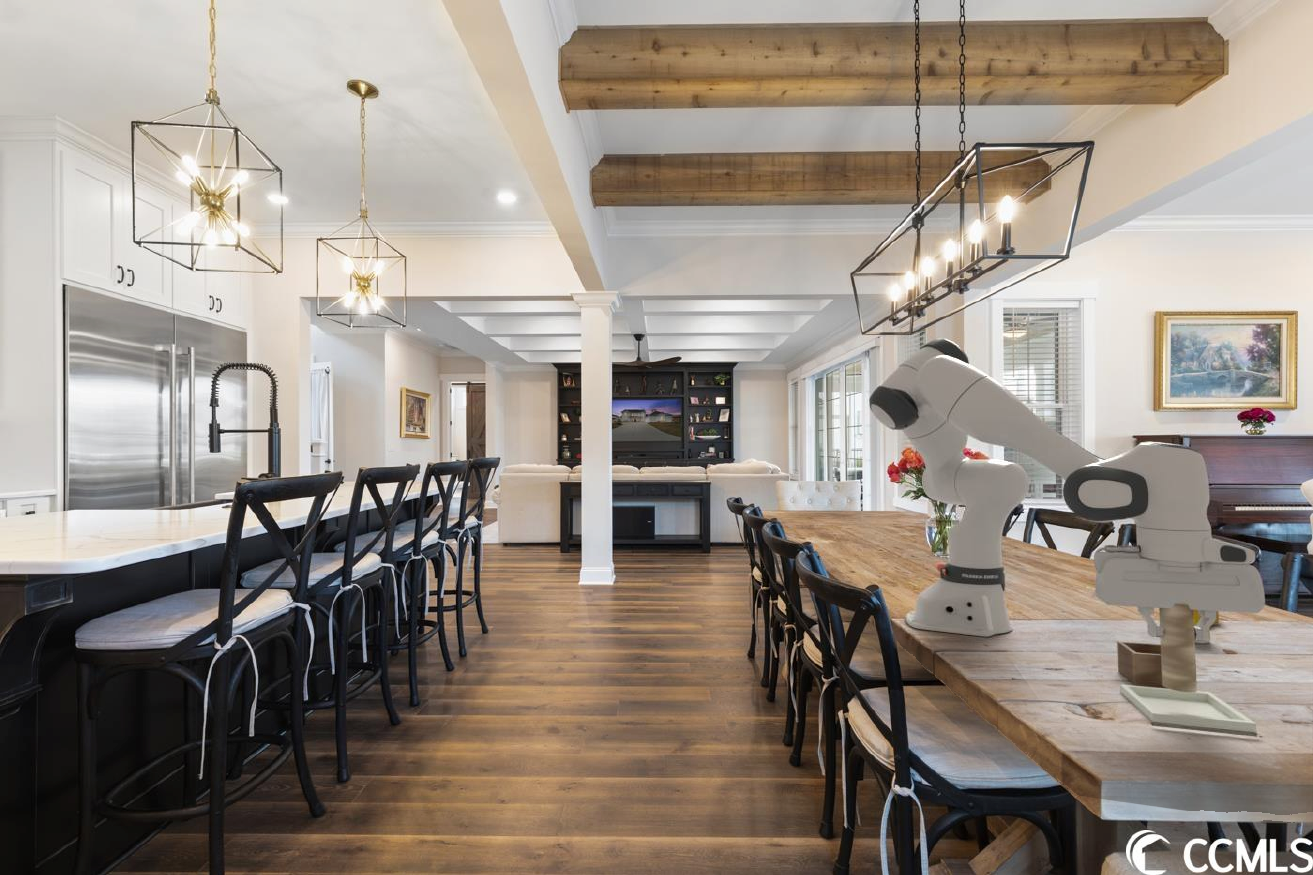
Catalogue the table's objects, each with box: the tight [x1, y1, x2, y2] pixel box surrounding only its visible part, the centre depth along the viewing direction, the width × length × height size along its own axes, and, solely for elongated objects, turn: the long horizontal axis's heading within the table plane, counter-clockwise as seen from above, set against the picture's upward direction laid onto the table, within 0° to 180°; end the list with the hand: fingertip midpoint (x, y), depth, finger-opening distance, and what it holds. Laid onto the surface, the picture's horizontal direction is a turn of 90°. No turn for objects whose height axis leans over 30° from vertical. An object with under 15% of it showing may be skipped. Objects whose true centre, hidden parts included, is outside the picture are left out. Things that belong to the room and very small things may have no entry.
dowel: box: [1158, 604, 1198, 692], centre depth 93 cm, size 4×4×13 cm
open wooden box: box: [1116, 640, 1169, 689], centre depth 105 cm, size 7×7×6 cm
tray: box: [1119, 683, 1258, 737], centre depth 93 cm, size 12×12×2 cm
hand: (1177, 637), depth 93 cm, fingers closed on dowel, 4 cm apart
